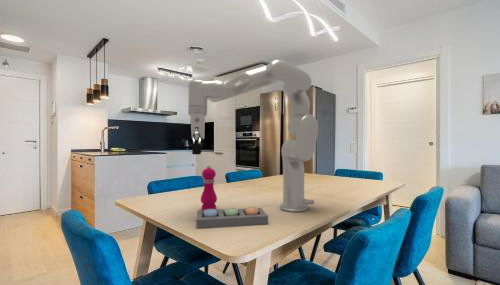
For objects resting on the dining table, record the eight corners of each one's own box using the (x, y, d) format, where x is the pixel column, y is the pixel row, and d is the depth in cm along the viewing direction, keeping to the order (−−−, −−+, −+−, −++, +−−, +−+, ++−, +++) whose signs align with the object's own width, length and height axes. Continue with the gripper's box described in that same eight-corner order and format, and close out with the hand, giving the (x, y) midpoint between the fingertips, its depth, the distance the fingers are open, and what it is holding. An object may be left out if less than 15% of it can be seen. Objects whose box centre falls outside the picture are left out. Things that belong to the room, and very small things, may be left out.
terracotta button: (256, 214, 103) (256, 206, 103) (259, 217, 98) (259, 209, 98) (244, 214, 102) (244, 207, 102) (246, 218, 97) (246, 210, 97)
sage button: (236, 215, 102) (236, 207, 102) (238, 218, 97) (238, 211, 97) (224, 215, 101) (224, 208, 101) (225, 219, 96) (225, 211, 96)
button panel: (260, 214, 107) (260, 207, 107) (268, 224, 95) (268, 216, 95) (197, 218, 102) (197, 210, 102) (196, 228, 91) (196, 220, 91)
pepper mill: (213, 211, 112) (213, 165, 112) (198, 210, 113) (198, 165, 113) (219, 207, 119) (219, 164, 119) (204, 206, 120) (204, 163, 120)
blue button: (216, 216, 100) (216, 208, 100) (217, 220, 95) (217, 212, 95) (203, 216, 99) (203, 209, 99) (203, 220, 94) (203, 212, 94)
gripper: (207, 109, 96) (206, 155, 96) (207, 113, 113) (206, 152, 113) (186, 108, 95) (185, 154, 95) (189, 113, 112) (189, 152, 112)
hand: (197, 153), depth 104 cm, fingers open, 9 cm apart
